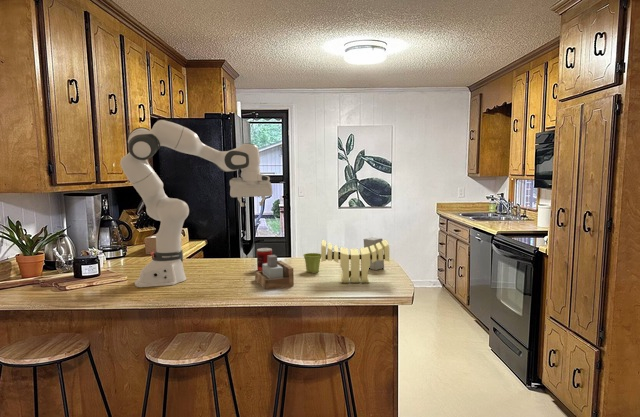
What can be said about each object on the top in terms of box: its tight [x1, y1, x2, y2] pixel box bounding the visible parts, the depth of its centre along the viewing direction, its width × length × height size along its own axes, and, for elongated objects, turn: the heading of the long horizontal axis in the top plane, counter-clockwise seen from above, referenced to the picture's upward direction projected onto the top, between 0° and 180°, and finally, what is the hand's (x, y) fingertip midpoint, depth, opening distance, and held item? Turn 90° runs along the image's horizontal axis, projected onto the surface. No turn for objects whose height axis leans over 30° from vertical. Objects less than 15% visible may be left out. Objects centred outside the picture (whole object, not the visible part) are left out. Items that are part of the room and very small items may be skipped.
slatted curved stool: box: [320, 239, 390, 284], centre depth 188 cm, size 30×16×18 cm, turn 87°
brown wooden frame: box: [254, 260, 295, 290], centre depth 185 cm, size 18×13×8 cm
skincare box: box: [363, 236, 385, 271], centre depth 211 cm, size 8×7×16 cm
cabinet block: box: [262, 254, 283, 279], centre depth 185 cm, size 6×12×12 cm, turn 24°
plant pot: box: [303, 252, 321, 274], centre depth 206 cm, size 9×9×9 cm
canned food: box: [256, 247, 273, 271], centre depth 210 cm, size 8×8×11 cm
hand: (251, 206), depth 197 cm, fingers open, 8 cm apart
